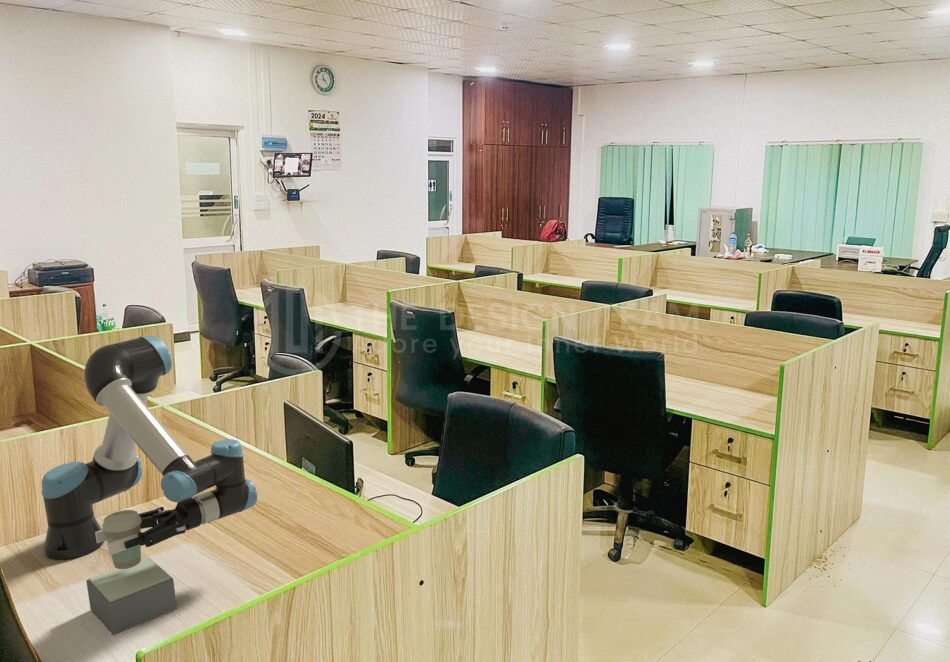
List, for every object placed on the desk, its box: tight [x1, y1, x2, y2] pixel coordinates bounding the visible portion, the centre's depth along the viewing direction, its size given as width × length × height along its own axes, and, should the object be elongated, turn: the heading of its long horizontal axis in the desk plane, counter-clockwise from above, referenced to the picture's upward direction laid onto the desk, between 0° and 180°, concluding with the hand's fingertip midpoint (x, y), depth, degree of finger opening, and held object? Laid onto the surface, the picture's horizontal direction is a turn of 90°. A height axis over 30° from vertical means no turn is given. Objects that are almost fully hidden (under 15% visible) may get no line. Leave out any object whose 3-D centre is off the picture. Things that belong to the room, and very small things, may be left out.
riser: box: [85, 556, 178, 636], centre depth 187 cm, size 15×15×9 cm
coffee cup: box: [101, 509, 142, 569], centre depth 184 cm, size 8×8×12 cm
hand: (102, 543), depth 180 cm, fingers closed on coffee cup, 8 cm apart
